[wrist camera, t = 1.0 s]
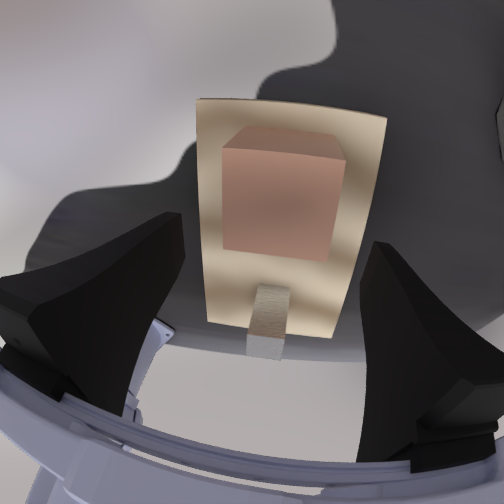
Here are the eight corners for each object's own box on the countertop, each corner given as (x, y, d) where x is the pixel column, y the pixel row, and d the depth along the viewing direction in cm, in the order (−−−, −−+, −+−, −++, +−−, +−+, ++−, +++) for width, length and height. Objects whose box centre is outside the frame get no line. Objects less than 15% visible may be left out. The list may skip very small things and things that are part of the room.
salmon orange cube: (322, 214, 20) (326, 262, 16) (242, 205, 21) (222, 249, 16) (334, 135, 17) (346, 160, 12) (244, 126, 17) (222, 147, 13)
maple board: (330, 330, 28) (331, 338, 27) (210, 314, 29) (207, 321, 28) (383, 116, 16) (387, 118, 16) (201, 98, 18) (196, 99, 17)
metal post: (286, 309, 26) (280, 360, 21) (257, 305, 26) (246, 355, 21) (290, 287, 24) (284, 339, 20) (258, 283, 24) (247, 334, 20)
